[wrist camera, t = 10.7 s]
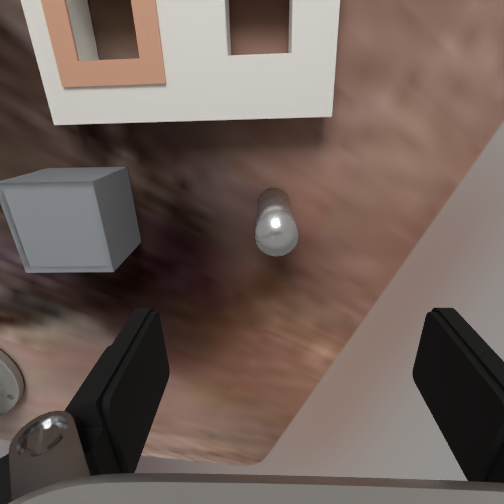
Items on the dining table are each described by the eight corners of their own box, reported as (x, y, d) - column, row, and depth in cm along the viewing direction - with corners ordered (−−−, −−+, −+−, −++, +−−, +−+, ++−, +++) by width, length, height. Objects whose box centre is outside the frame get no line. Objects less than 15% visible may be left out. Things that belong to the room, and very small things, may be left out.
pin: (289, 218, 28) (297, 256, 21) (257, 218, 28) (255, 256, 21) (289, 187, 27) (299, 215, 20) (257, 188, 27) (254, 216, 20)
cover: (141, 242, 30) (113, 272, 24) (69, 242, 30) (26, 272, 25) (127, 166, 27) (92, 181, 21) (47, 168, 27) (-7, 183, 22)
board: (324, 115, 25) (332, 116, 22) (76, 123, 26) (52, 125, 23) (337, -92, 20) (349, -127, 17) (29, -74, 21) (-10, -104, 18)
